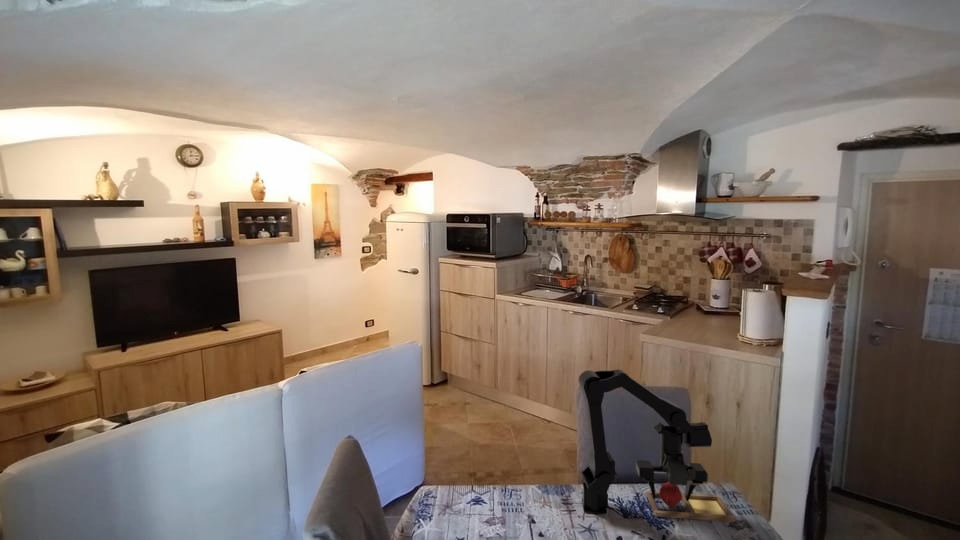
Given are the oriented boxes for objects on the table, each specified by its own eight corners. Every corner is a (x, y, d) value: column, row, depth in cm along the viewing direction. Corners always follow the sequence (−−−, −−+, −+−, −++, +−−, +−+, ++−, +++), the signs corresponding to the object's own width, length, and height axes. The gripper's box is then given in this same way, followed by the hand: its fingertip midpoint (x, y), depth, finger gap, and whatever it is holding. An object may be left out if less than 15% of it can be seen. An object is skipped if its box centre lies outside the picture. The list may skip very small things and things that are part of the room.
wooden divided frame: (655, 516, 128) (655, 512, 128) (646, 494, 139) (646, 490, 139) (734, 521, 125) (734, 517, 125) (719, 499, 136) (719, 495, 136)
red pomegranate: (683, 513, 129) (683, 486, 129) (661, 511, 130) (662, 484, 130) (678, 501, 135) (679, 475, 134) (657, 499, 136) (658, 473, 135)
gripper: (644, 458, 125) (643, 513, 126) (716, 462, 122) (714, 518, 123) (635, 440, 136) (634, 491, 137) (701, 443, 133) (700, 495, 134)
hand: (670, 499), depth 132 cm, fingers open, 9 cm apart
